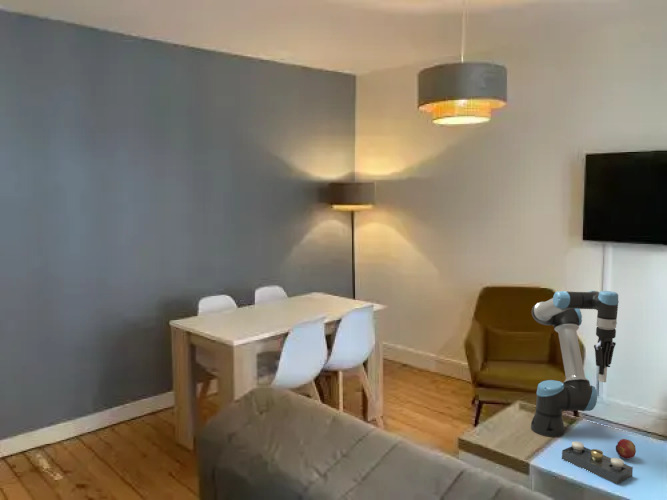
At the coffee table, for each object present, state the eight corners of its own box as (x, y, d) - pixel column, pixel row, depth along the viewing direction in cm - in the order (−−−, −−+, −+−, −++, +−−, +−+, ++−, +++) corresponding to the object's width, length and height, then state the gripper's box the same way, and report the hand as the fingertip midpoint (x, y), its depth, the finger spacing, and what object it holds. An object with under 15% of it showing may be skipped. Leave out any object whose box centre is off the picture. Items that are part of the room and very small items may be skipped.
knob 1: (568, 456, 234) (569, 443, 233) (575, 453, 236) (576, 440, 236) (578, 460, 230) (579, 447, 229) (585, 457, 233) (586, 444, 232)
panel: (561, 459, 233) (562, 450, 233) (576, 452, 239) (577, 444, 239) (617, 484, 213) (618, 474, 213) (632, 476, 220) (632, 467, 219)
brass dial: (588, 457, 226) (589, 450, 226) (594, 455, 229) (595, 447, 229) (598, 462, 223) (599, 454, 223) (604, 459, 225) (605, 451, 225)
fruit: (634, 464, 230) (636, 446, 229) (614, 459, 234) (615, 441, 233) (635, 457, 237) (637, 439, 236) (615, 452, 241) (617, 434, 240)
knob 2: (607, 473, 220) (608, 459, 219) (613, 470, 222) (614, 456, 222) (618, 478, 216) (619, 464, 215) (625, 475, 219) (626, 461, 218)
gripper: (606, 331, 227) (602, 386, 229) (623, 327, 234) (619, 381, 236) (589, 327, 233) (585, 381, 235) (606, 324, 240) (602, 376, 243)
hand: (602, 381), depth 236 cm, fingers closed
